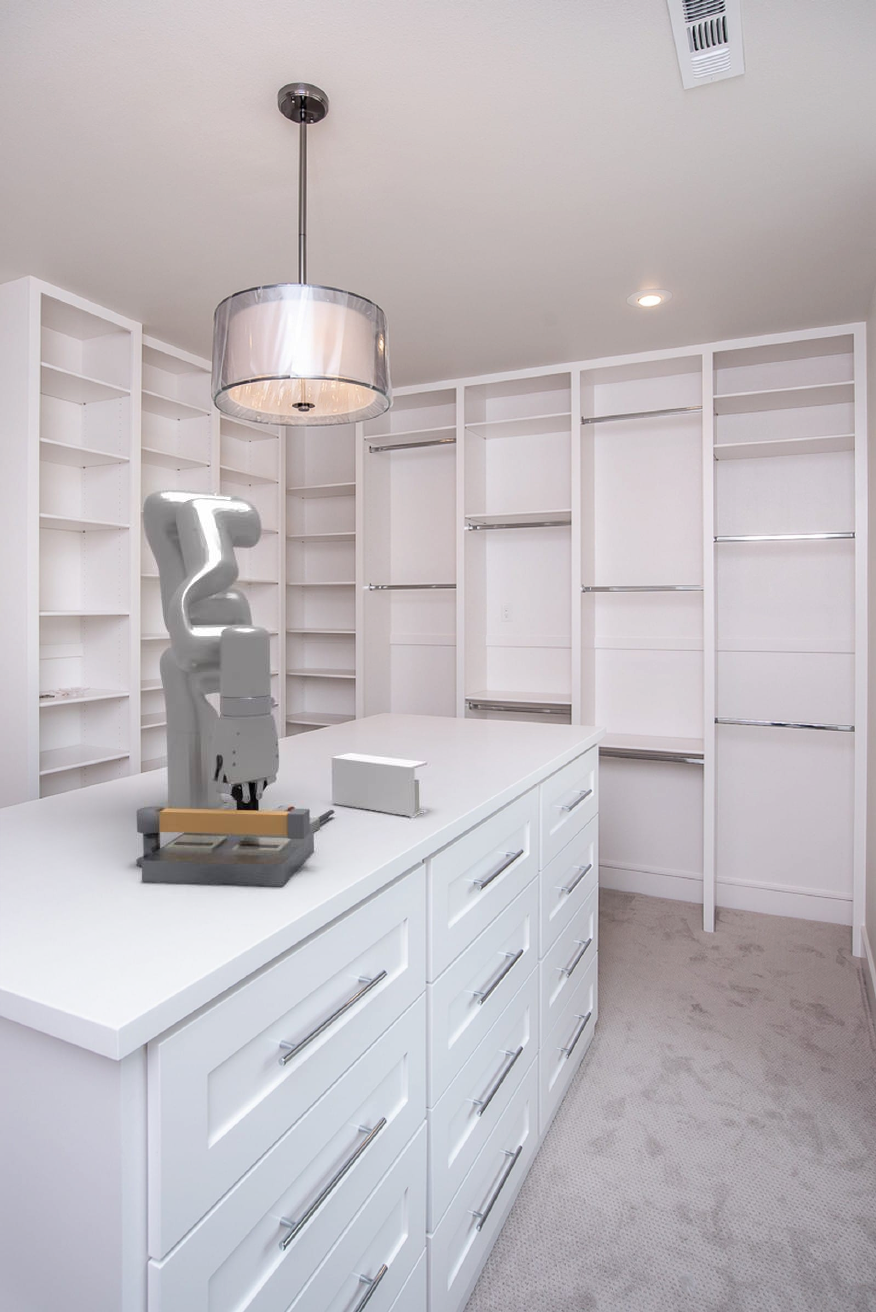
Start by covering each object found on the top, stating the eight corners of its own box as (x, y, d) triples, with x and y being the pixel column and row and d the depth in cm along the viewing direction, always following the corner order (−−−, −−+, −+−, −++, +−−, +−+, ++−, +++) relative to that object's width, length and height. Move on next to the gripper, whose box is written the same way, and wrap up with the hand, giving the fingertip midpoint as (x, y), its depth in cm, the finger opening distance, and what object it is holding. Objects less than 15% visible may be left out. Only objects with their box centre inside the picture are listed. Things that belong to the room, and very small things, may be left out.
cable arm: (132, 835, 113) (131, 810, 113) (145, 827, 117) (144, 804, 117) (302, 840, 110) (302, 815, 110) (310, 832, 114) (310, 808, 114)
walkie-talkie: (287, 852, 121) (338, 819, 140) (287, 824, 121) (338, 795, 140) (237, 847, 124) (294, 816, 143) (237, 820, 123) (294, 792, 143)
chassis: (191, 847, 123) (190, 825, 123) (313, 850, 121) (313, 828, 120) (142, 881, 107) (141, 856, 107) (282, 886, 105) (281, 861, 105)
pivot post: (145, 857, 118) (144, 828, 117) (173, 858, 117) (172, 829, 117) (130, 867, 113) (130, 836, 113) (159, 867, 113) (158, 837, 113)
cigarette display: (428, 812, 144) (428, 762, 144) (411, 818, 140) (411, 767, 139) (345, 798, 155) (344, 752, 155) (327, 804, 151) (326, 756, 150)
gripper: (267, 701, 126) (269, 812, 127) (189, 710, 114) (191, 832, 115) (299, 704, 122) (300, 819, 123) (221, 714, 110) (223, 841, 111)
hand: (248, 825), depth 119 cm, fingers closed
